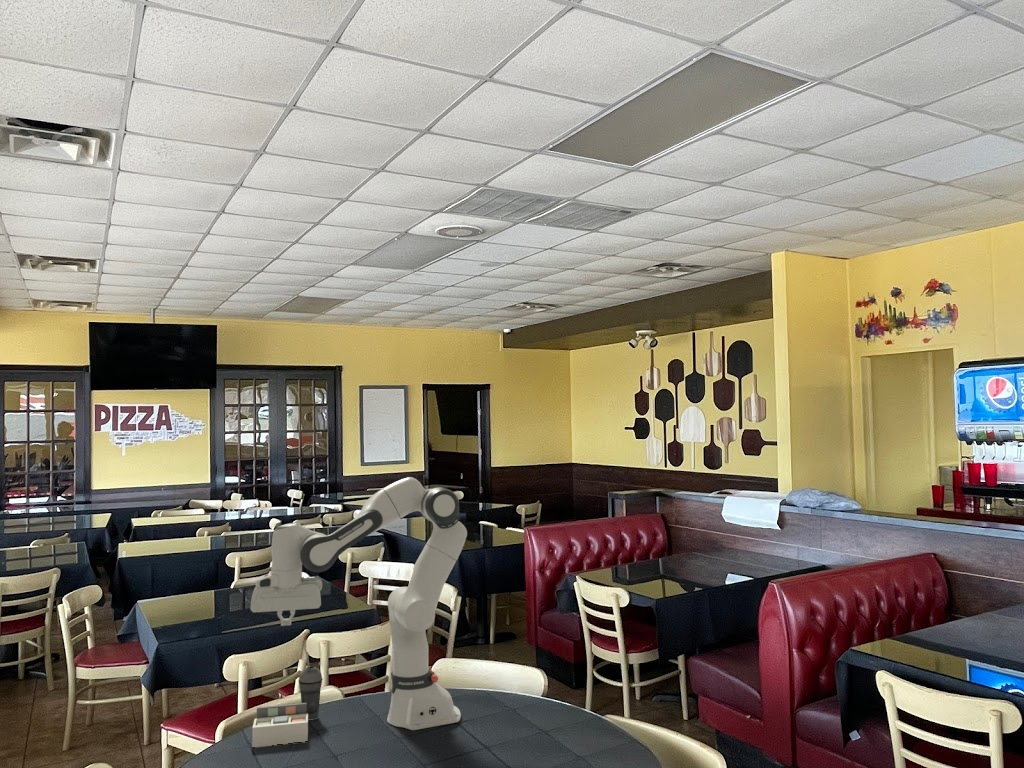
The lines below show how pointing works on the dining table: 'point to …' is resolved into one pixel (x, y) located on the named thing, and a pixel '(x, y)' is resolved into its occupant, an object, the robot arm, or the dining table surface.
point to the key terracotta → (298, 720)
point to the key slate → (281, 719)
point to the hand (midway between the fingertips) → (286, 625)
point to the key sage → (263, 723)
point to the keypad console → (280, 725)
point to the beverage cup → (310, 689)
